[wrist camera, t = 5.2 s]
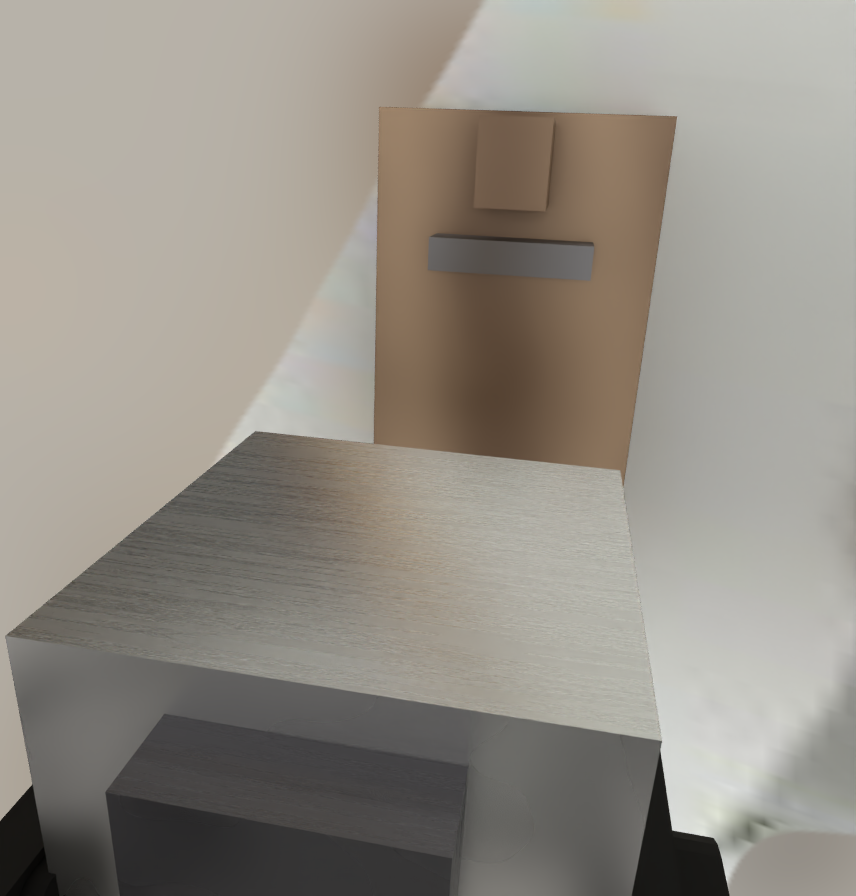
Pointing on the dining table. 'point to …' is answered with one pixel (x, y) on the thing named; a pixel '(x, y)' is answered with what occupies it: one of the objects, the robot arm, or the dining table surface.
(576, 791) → the lever cap
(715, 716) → the dining table surface
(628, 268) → the plane body
